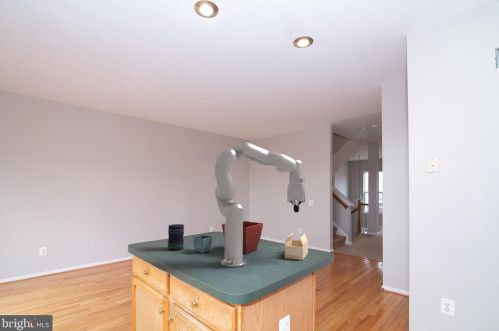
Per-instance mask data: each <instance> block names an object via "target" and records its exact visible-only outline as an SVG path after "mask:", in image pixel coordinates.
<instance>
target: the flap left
mask: <svg viewBox="0 0 499 331" xmlns="http://www.w3.org/2000/svg"><path fill="white" fill-rule="evenodd" d="M293 236H294V232H292V233H291V234H289V235H288V236H287V237H286V239H285V243H284V245H286V244H287V243H288V242H289V241H290V240H293Z"/></svg>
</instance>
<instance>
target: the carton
mask: <svg viewBox="0 0 499 331" xmlns="http://www.w3.org/2000/svg"><path fill="white" fill-rule="evenodd" d="M308 254H309V242H308V241H307V242H306V243H305V244H304V245H303V246H302V243H301V240H300V239H299V240H297V239H291V240H290V241H289V242H288V243H286V244H284V258H285V259H287V260H297V261H303V260H304V259H306V256H307V255H308Z"/></svg>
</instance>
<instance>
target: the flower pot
mask: <svg viewBox="0 0 499 331" xmlns="http://www.w3.org/2000/svg"><path fill="white" fill-rule="evenodd" d="M192 239H193V240H192V241H193V242H192V243H193V247H194V249H195V251H196V252H197V253H202V254H203V253H204V254H205V253H206V252H208V251H209V250H210V248H211V247H212V242H213V236H211V235H205V234H201V235H197V236H193V237H192Z"/></svg>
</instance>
